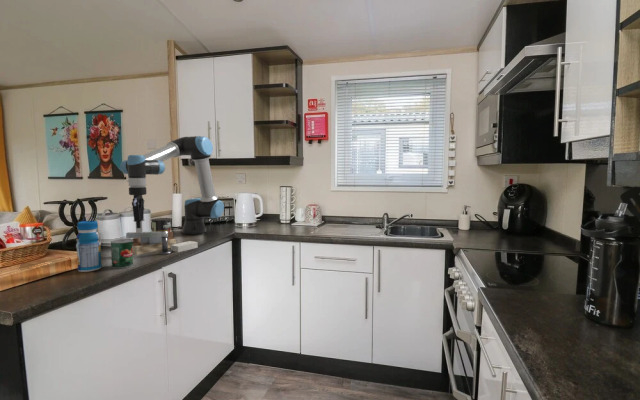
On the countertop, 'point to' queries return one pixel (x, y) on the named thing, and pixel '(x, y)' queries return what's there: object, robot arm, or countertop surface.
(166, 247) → the lever post
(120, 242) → the canned tomato
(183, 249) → the block
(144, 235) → the latch lever
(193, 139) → the robot arm
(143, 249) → the hand plane
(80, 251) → the beverage bottle
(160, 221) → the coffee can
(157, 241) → the grey rectangular block
